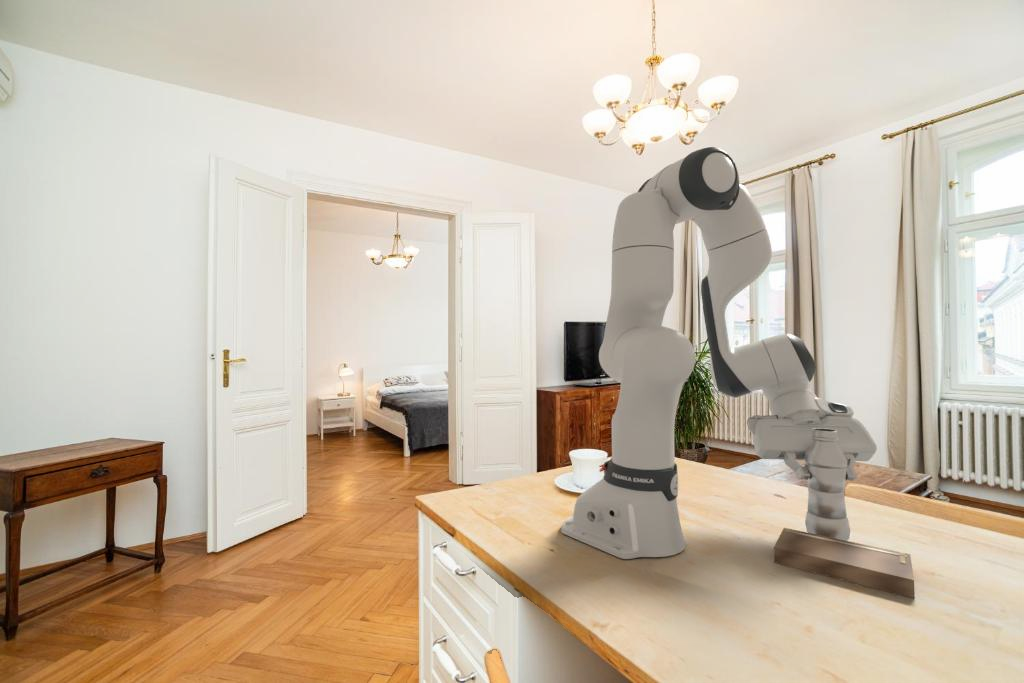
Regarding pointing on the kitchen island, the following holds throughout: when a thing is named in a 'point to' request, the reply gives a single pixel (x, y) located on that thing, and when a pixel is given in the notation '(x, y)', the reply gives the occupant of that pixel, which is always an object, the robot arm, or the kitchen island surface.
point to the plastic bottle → (826, 486)
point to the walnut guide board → (846, 561)
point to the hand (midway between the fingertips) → (827, 478)
